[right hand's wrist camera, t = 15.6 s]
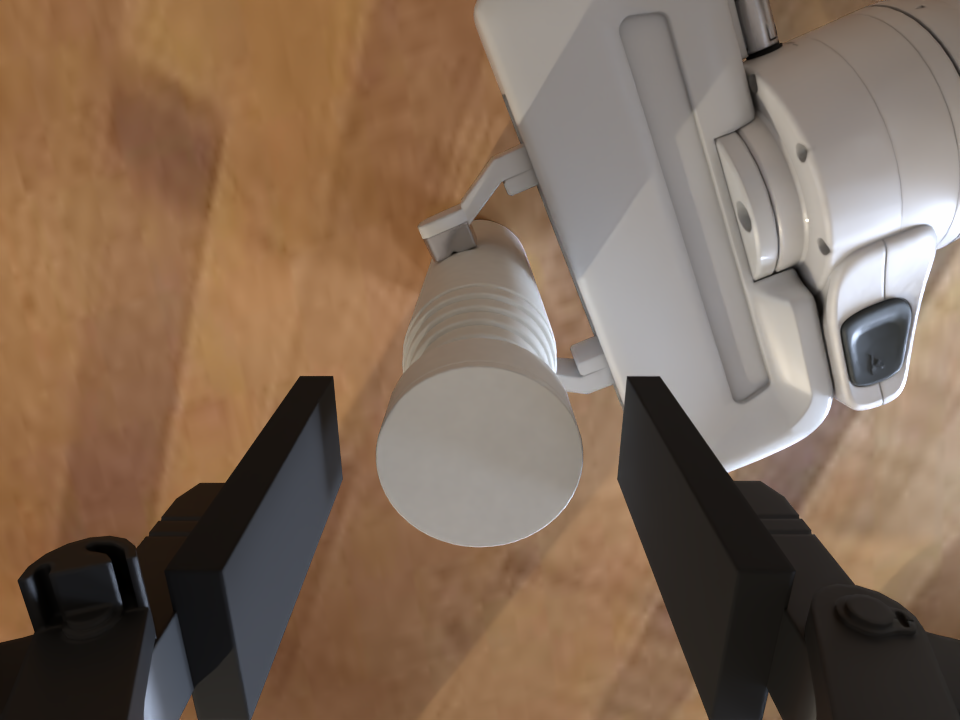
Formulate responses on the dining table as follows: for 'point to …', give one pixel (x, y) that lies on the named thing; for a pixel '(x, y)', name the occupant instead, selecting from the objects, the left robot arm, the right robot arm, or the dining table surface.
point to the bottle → (481, 299)
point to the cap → (479, 444)
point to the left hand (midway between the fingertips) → (459, 313)
